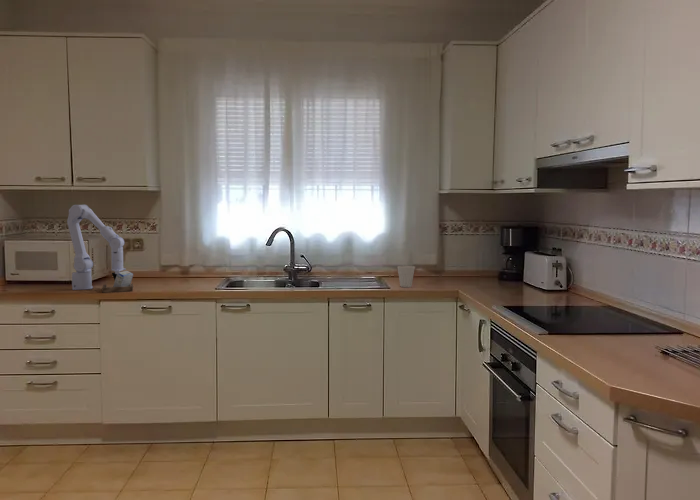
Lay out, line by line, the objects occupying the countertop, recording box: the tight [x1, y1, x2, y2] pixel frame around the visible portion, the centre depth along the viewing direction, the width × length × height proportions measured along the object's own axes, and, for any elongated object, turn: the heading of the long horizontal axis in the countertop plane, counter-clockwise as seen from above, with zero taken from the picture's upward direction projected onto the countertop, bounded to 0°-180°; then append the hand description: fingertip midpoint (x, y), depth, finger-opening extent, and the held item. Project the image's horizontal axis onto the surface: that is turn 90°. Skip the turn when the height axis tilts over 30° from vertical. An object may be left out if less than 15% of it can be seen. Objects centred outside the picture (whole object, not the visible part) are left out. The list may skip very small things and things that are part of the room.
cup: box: [396, 265, 416, 288], centre depth 326 cm, size 10×10×11 cm
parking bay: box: [101, 283, 134, 294], centre depth 310 cm, size 14×11×2 cm
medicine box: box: [112, 270, 134, 287], centre depth 312 cm, size 8×4×9 cm, turn 163°
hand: (118, 285), depth 315 cm, fingers closed, pressing on medicine box
